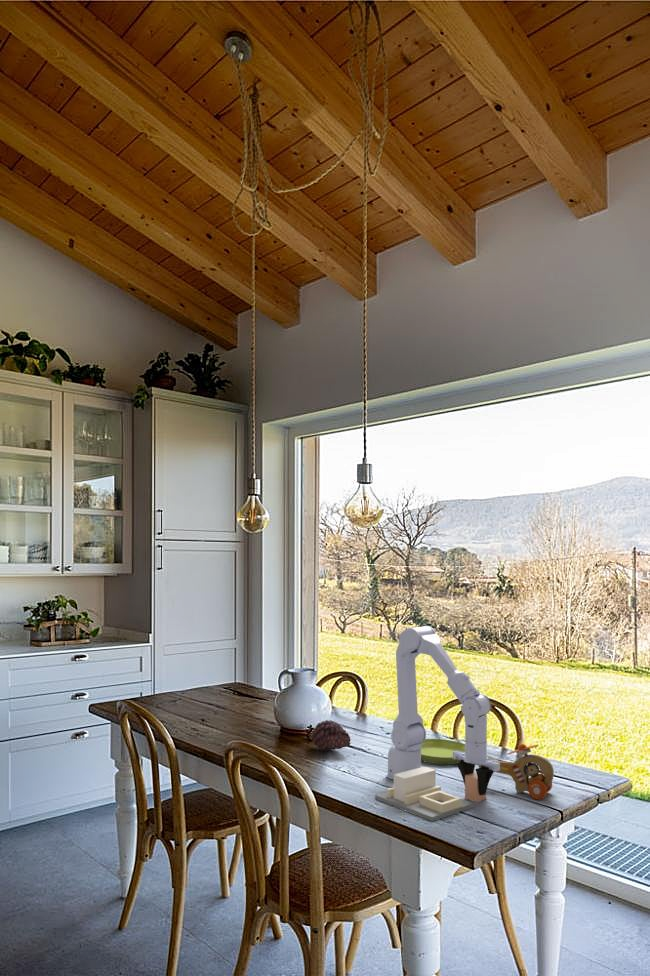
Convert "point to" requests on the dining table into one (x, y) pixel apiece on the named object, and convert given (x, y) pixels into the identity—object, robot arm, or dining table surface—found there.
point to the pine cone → (330, 736)
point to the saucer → (440, 751)
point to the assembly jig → (427, 803)
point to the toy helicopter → (529, 772)
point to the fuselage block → (413, 781)
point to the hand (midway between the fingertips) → (475, 792)
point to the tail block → (472, 788)
